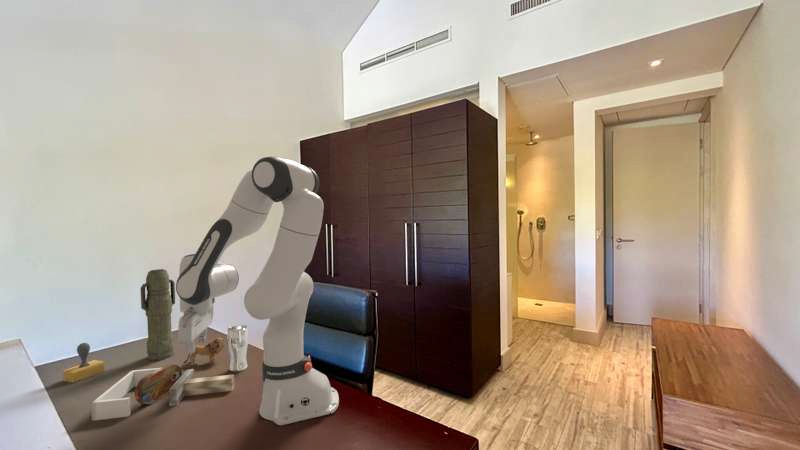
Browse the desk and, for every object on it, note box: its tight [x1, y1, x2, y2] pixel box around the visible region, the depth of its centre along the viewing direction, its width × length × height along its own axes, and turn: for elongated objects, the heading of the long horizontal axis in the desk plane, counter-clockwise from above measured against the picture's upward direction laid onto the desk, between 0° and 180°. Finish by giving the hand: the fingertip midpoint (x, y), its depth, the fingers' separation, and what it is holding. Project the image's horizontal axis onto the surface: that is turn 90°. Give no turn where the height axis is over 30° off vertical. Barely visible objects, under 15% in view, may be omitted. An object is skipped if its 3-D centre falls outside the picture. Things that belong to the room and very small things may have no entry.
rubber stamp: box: [62, 342, 106, 383], centre depth 127 cm, size 10×6×12 cm, turn 160°
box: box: [90, 367, 161, 421], centre depth 110 cm, size 9×21×5 cm, turn 12°
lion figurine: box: [183, 337, 226, 366], centre depth 136 cm, size 15×5×9 cm, turn 104°
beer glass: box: [226, 324, 249, 373], centre depth 131 cm, size 7×7×15 cm
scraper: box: [168, 368, 235, 407], centre depth 114 cm, size 16×14×5 cm
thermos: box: [139, 268, 176, 361], centre depth 143 cm, size 9×12×35 cm
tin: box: [134, 364, 183, 405], centre depth 111 cm, size 15×3×8 cm, turn 168°
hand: (197, 346), depth 113 cm, fingers open, 8 cm apart
